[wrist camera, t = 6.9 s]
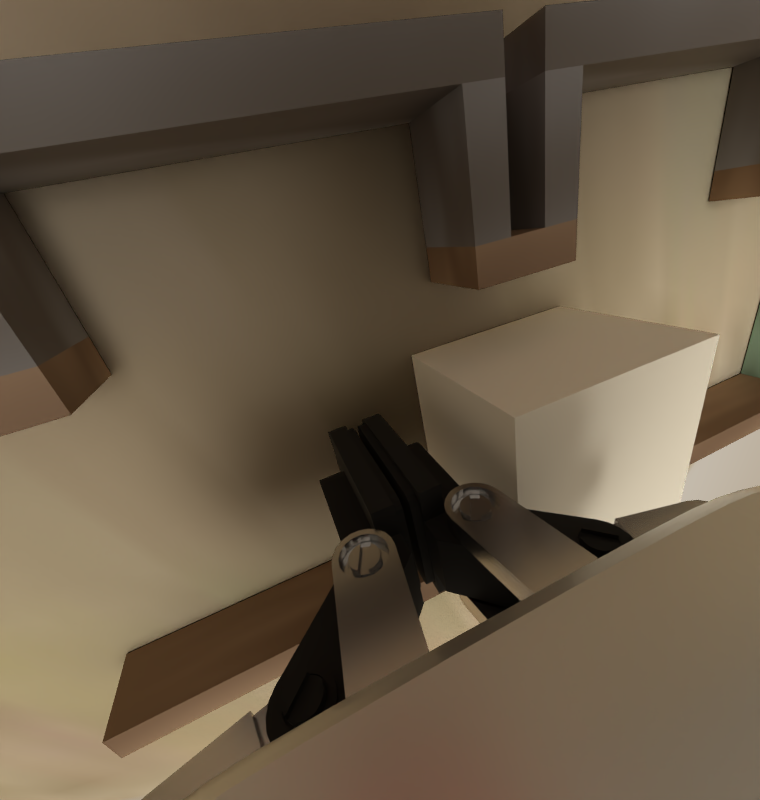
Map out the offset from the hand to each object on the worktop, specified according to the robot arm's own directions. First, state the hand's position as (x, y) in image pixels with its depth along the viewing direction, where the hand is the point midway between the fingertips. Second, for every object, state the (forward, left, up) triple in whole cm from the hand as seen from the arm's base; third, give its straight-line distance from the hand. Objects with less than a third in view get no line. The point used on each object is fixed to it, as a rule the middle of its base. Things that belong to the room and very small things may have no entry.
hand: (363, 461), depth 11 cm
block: (0, +6, -1) cm, 6 cm away
